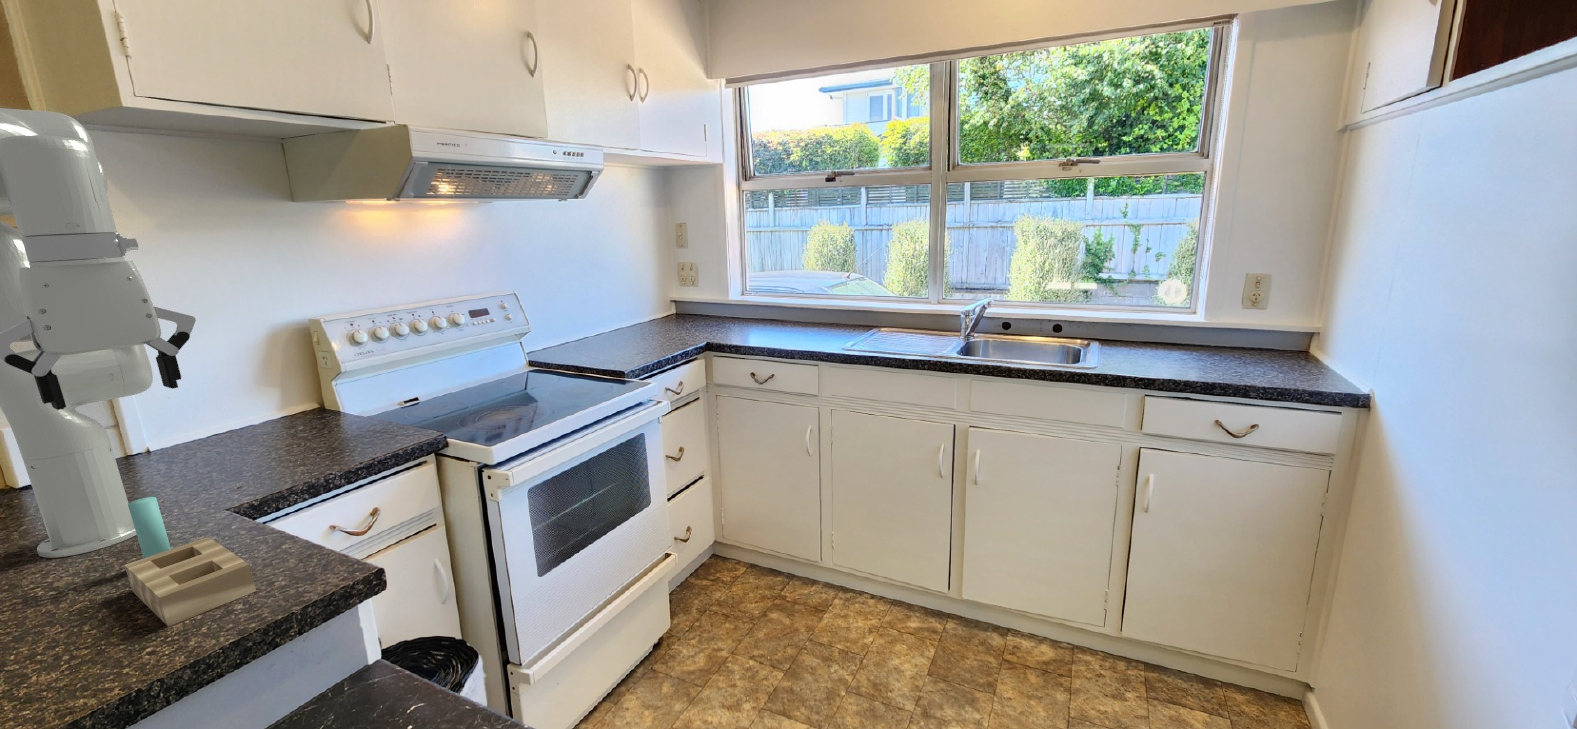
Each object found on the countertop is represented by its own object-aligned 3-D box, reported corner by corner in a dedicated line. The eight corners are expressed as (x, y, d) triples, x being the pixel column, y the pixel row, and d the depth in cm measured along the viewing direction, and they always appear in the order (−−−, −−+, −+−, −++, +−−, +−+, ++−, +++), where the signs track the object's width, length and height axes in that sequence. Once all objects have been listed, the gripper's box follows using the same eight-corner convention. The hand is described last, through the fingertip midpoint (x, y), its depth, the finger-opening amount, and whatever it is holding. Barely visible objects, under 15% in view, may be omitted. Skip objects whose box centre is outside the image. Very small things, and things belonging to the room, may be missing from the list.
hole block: (132, 591, 90) (124, 565, 89) (215, 561, 97) (208, 536, 96) (168, 626, 81) (159, 597, 80) (256, 591, 88) (249, 564, 88)
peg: (144, 565, 97) (125, 503, 95) (170, 556, 100) (152, 495, 97) (150, 571, 96) (131, 507, 93) (176, 561, 98) (159, 499, 96)
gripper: (166, 246, 83) (200, 377, 87) (-49, 258, 70) (2, 413, 73) (185, 245, 79) (219, 383, 83) (-40, 257, 65) (14, 422, 69)
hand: (117, 397), depth 78 cm, fingers open, 9 cm apart
